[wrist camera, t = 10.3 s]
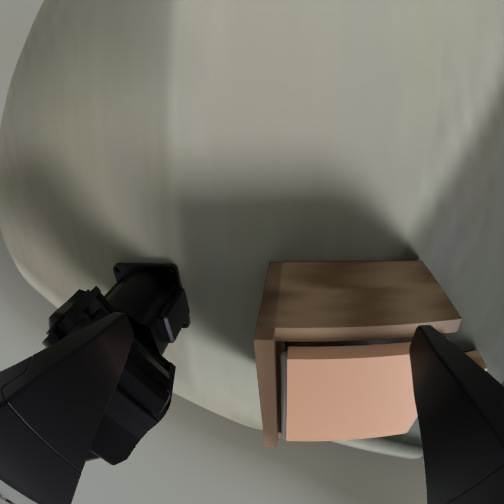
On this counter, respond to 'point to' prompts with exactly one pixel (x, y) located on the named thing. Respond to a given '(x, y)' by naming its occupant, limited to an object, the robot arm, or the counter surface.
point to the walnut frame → (340, 313)
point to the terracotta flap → (346, 392)
